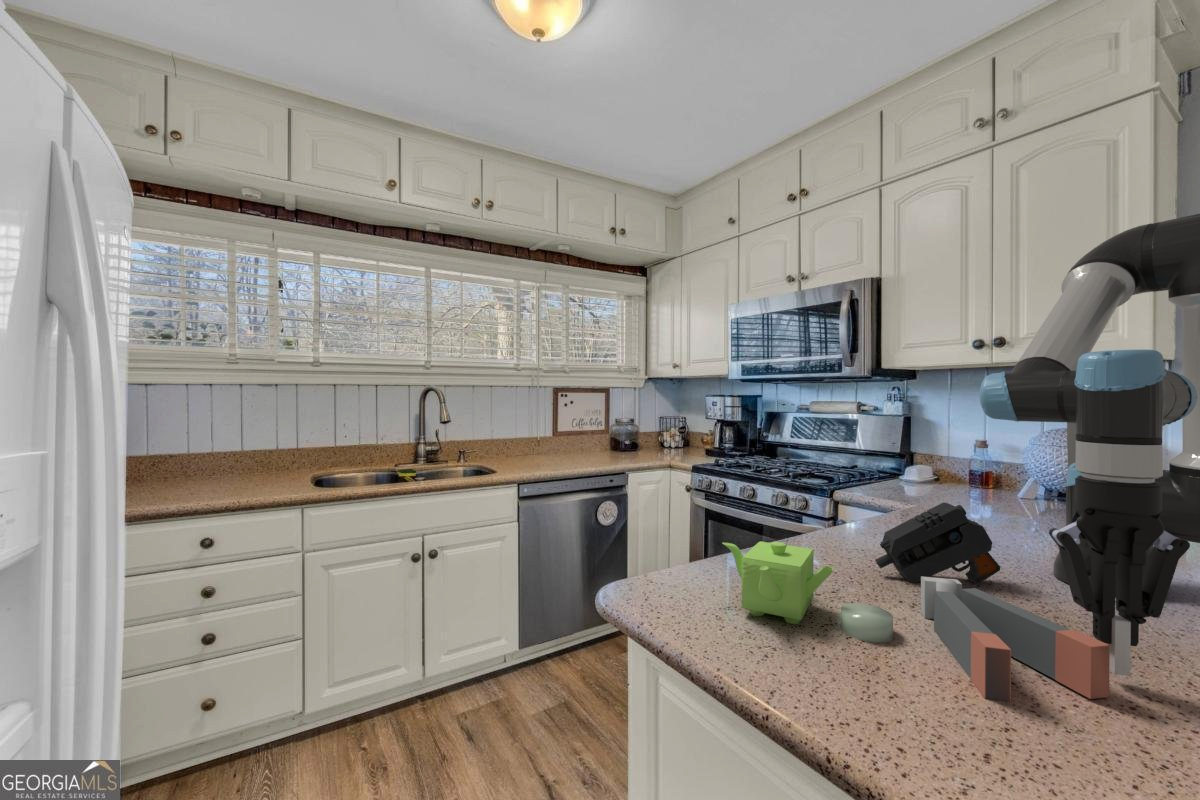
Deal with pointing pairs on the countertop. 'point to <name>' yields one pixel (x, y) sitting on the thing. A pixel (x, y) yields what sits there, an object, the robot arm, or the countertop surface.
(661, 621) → the countertop surface
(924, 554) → the tool
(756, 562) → the kettle
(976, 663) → the tongs base
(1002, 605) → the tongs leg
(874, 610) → the grey-green pebble
